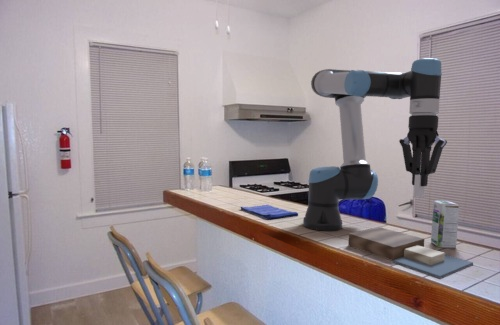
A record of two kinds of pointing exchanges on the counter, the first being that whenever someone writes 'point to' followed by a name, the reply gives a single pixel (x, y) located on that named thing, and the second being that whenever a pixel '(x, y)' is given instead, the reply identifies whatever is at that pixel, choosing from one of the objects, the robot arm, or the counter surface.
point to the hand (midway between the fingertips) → (418, 197)
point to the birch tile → (424, 254)
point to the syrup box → (445, 224)
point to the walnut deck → (383, 242)
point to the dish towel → (269, 212)
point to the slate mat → (435, 265)
